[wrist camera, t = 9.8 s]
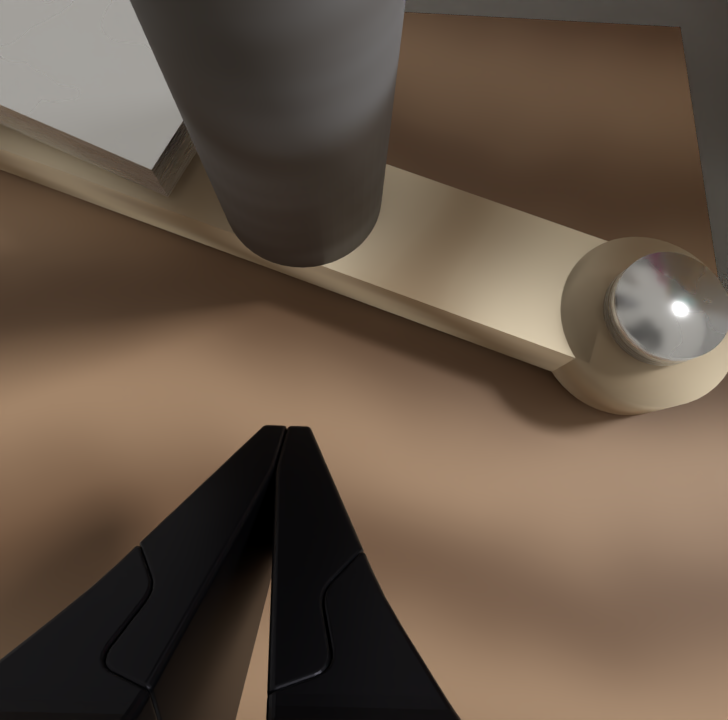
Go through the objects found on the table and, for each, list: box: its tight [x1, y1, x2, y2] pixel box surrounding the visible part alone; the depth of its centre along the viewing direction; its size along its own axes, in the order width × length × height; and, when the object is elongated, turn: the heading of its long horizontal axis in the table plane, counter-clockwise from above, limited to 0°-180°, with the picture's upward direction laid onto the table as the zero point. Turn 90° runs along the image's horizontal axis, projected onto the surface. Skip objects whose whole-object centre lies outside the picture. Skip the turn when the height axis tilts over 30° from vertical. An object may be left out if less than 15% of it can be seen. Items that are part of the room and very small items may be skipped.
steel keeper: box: [0, 0, 728, 366], centre depth 15 cm, size 26×5×4 cm, turn 66°
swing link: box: [0, 0, 728, 415], centre depth 10 cm, size 24×5×12 cm, turn 69°
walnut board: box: [0, 12, 728, 720], centre depth 16 cm, size 24×28×1 cm
